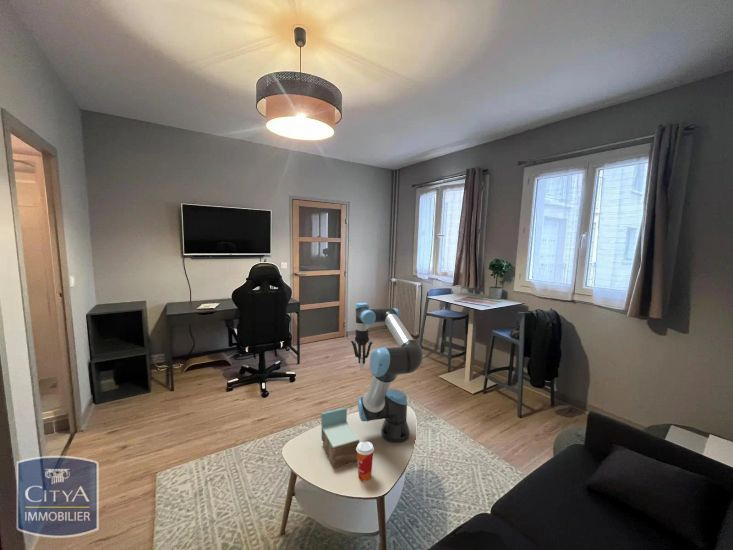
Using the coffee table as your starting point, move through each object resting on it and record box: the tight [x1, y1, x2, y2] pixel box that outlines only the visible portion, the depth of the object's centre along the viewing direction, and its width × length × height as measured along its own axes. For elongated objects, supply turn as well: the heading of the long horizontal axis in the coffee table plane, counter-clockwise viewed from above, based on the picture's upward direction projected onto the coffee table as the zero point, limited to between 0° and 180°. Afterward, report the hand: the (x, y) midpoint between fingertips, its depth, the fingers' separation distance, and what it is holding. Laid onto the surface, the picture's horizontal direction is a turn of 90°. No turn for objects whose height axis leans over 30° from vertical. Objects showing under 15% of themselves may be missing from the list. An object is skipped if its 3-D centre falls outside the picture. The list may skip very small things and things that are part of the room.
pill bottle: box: [356, 441, 375, 482], centre depth 132 cm, size 8×8×14 cm
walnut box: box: [322, 431, 361, 469], centre depth 146 cm, size 16×13×9 cm
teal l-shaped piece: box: [320, 406, 360, 448], centre depth 147 cm, size 18×13×14 cm
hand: (361, 368), depth 178 cm, fingers closed
